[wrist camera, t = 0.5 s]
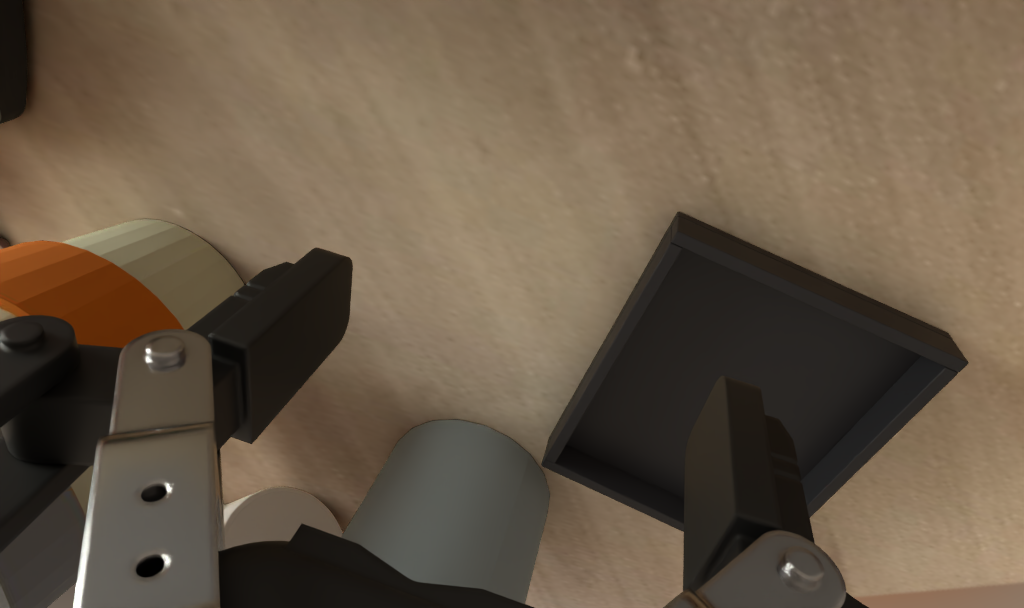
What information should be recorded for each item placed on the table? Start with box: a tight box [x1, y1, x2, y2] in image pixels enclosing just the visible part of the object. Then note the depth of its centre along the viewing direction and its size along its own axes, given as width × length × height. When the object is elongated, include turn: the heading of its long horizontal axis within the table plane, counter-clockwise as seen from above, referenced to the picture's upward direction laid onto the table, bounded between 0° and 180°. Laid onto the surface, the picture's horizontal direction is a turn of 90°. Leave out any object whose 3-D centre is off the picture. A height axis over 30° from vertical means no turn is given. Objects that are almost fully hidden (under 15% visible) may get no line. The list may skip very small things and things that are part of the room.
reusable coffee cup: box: [0, 219, 244, 608], centre depth 25 cm, size 13×13×15 cm
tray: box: [542, 212, 968, 532], centre depth 26 cm, size 13×11×2 cm
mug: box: [223, 487, 343, 549], centre depth 35 cm, size 12×9×8 cm
